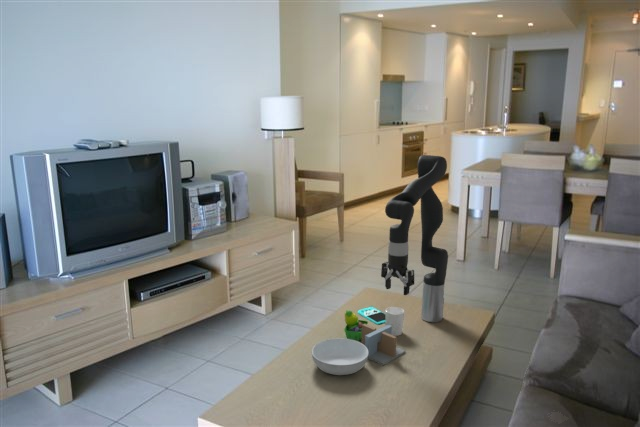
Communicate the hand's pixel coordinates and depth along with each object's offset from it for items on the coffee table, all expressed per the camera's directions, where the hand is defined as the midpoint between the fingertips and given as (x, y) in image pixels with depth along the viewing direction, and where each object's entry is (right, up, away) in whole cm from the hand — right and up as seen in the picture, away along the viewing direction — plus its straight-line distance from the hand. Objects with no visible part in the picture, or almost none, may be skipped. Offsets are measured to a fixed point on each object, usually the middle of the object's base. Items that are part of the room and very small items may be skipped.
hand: (397, 291), depth 203 cm
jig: (-7, -24, +3) cm, 25 cm away
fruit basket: (-16, -21, +15) cm, 30 cm away
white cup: (+1, -20, +19) cm, 28 cm away
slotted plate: (-7, -23, +2) cm, 24 cm away
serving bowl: (-23, -27, -10) cm, 37 cm away
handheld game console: (-5, -17, +36) cm, 40 cm away
